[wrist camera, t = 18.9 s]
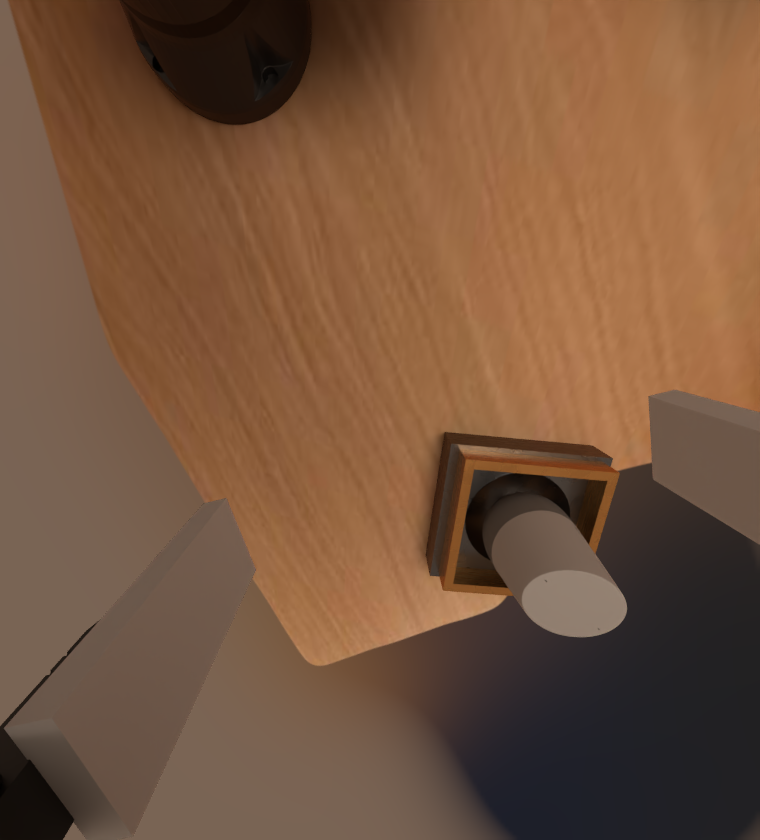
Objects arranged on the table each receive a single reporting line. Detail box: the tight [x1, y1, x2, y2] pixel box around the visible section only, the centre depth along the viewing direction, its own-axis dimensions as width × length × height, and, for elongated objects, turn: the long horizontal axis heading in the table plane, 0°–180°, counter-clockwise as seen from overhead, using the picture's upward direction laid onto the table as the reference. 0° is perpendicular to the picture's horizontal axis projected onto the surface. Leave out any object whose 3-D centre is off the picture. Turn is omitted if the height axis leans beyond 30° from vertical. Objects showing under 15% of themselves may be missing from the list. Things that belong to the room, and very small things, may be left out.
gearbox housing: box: [426, 432, 619, 596], centre depth 44 cm, size 18×17×7 cm
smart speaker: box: [482, 492, 627, 637], centre depth 36 cm, size 10×9×14 cm
